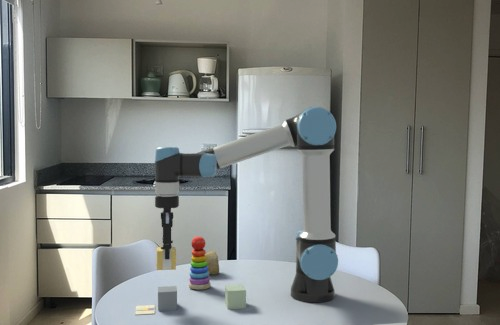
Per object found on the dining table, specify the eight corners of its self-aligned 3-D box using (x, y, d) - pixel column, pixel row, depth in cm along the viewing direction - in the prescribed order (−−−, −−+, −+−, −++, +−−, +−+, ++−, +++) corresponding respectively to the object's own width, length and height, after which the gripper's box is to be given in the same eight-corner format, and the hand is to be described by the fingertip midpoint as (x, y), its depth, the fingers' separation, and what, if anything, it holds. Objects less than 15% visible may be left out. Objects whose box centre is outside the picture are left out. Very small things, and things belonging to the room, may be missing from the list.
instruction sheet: (154, 305, 172) (154, 304, 172) (154, 313, 164) (154, 312, 164) (136, 306, 171) (136, 305, 171) (135, 314, 163) (135, 314, 163)
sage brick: (243, 302, 176) (243, 284, 176) (245, 308, 170) (246, 290, 170) (225, 303, 175) (225, 285, 175) (227, 309, 169) (227, 291, 169)
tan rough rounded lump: (228, 259, 206) (205, 250, 204) (217, 283, 207) (194, 273, 204) (225, 252, 215) (203, 243, 213) (215, 274, 216) (192, 265, 214)
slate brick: (176, 303, 174) (176, 286, 174) (177, 309, 168) (177, 291, 168) (158, 304, 173) (157, 286, 173) (158, 310, 167) (157, 292, 167)
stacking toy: (199, 282, 198) (199, 233, 197) (215, 286, 193) (215, 236, 192) (184, 287, 192) (184, 236, 191) (199, 291, 187) (199, 239, 186)
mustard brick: (174, 264, 174) (175, 246, 173) (175, 269, 168) (176, 250, 167) (156, 265, 172) (156, 247, 172) (156, 270, 167) (156, 251, 166)
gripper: (155, 191, 177) (155, 259, 179) (154, 198, 159) (154, 274, 160) (177, 191, 179) (177, 258, 180) (180, 198, 160) (179, 273, 161)
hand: (166, 266), depth 170 cm, fingers closed on mustard brick, 6 cm apart
